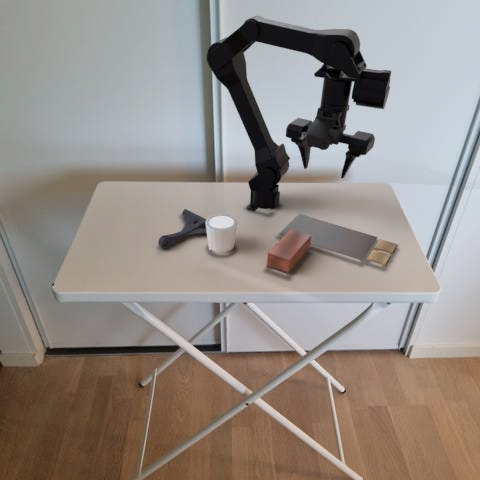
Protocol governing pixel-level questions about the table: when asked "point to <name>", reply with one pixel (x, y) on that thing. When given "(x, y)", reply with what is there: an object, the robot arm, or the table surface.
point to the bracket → (185, 229)
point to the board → (333, 236)
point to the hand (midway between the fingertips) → (323, 173)
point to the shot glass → (221, 232)
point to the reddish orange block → (288, 251)
